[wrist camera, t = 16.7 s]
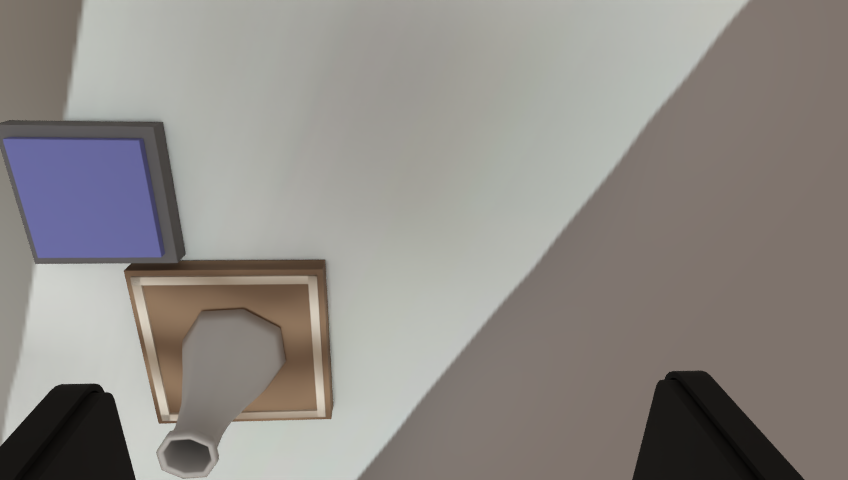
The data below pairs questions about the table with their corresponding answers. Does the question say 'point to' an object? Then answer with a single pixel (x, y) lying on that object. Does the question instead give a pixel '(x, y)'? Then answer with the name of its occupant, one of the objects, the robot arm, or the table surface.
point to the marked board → (228, 290)
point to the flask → (218, 384)
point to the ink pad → (93, 191)
